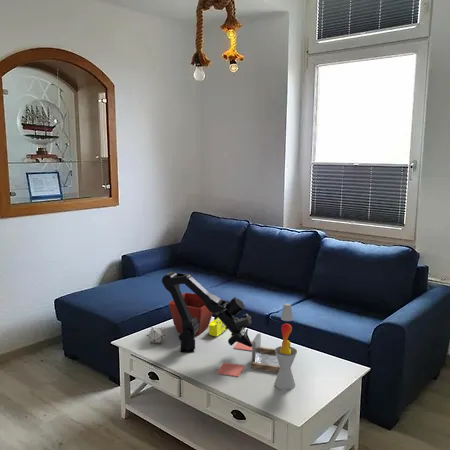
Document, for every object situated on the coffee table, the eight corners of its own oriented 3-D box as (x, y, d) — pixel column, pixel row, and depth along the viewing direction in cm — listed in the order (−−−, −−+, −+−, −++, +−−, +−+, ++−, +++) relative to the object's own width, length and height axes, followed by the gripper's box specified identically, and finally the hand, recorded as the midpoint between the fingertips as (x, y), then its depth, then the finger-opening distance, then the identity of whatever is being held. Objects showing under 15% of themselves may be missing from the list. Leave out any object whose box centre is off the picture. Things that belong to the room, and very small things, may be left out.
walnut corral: (250, 368, 208) (250, 363, 207) (259, 351, 224) (259, 346, 224) (283, 373, 203) (283, 368, 203) (290, 356, 220) (290, 351, 219)
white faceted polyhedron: (159, 348, 235) (170, 331, 236) (155, 349, 227) (167, 332, 228) (145, 338, 237) (156, 321, 238) (140, 339, 229) (152, 322, 230)
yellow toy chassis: (217, 338, 240) (217, 322, 238) (208, 336, 242) (208, 320, 241) (231, 327, 254) (231, 312, 252) (222, 325, 256) (222, 311, 255)
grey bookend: (251, 364, 211) (252, 341, 209) (257, 355, 221) (257, 333, 219) (277, 368, 208) (278, 345, 206) (282, 358, 217) (282, 336, 215)
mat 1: (216, 373, 203) (216, 372, 203) (223, 363, 212) (223, 362, 212) (238, 377, 200) (238, 376, 200) (244, 366, 209) (244, 365, 209)
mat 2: (233, 348, 227) (233, 347, 227) (239, 340, 237) (239, 339, 237) (253, 351, 224) (253, 350, 224) (258, 343, 234) (258, 342, 234)
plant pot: (216, 326, 254) (216, 297, 251) (200, 339, 237) (200, 308, 234) (185, 320, 262) (185, 292, 259) (168, 333, 245) (167, 302, 242)
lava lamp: (295, 390, 189) (298, 309, 183) (273, 388, 191) (275, 307, 184) (295, 379, 198) (298, 301, 192) (274, 377, 199) (276, 300, 193)
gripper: (235, 317, 205) (259, 344, 204) (246, 304, 223) (268, 328, 221) (218, 332, 209) (241, 358, 208) (230, 317, 226) (251, 342, 225)
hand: (251, 346), depth 215 cm, fingers closed
